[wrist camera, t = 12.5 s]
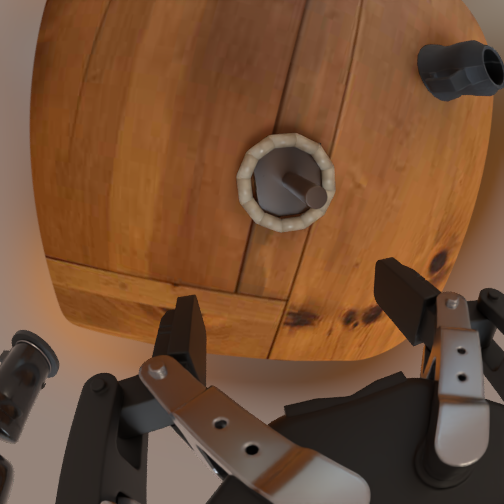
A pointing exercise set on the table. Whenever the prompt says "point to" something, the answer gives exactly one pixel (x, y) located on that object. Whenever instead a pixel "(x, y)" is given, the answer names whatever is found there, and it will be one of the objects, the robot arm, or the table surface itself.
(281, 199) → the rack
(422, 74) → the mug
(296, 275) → the table surface
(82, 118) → the table surface
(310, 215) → the ring
